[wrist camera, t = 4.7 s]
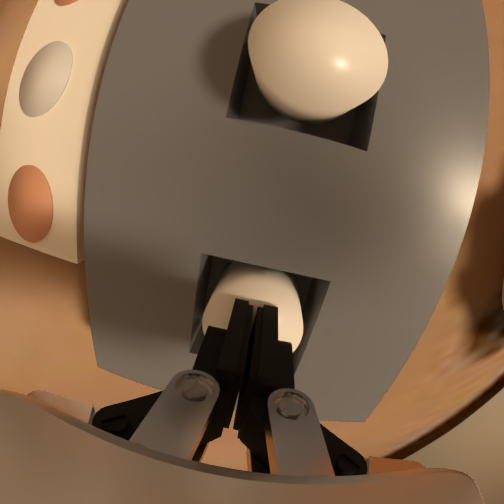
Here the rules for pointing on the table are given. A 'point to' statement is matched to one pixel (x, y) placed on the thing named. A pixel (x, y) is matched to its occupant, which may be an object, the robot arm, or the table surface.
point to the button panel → (280, 192)
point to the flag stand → (503, 295)
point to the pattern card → (53, 123)
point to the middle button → (316, 58)
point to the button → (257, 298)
